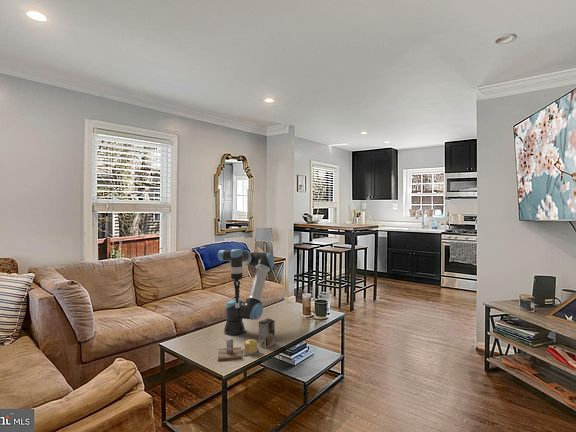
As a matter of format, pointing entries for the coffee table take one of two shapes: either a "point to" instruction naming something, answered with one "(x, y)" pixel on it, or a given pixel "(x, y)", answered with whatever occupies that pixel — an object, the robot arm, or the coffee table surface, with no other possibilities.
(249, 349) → the yellow lidded jar
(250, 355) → the mat
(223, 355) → the post base
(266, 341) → the coffee box
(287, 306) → the coffee table surface
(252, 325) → the coffee table surface
